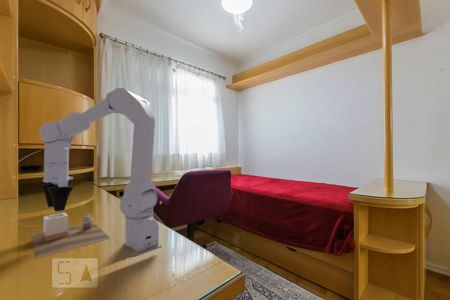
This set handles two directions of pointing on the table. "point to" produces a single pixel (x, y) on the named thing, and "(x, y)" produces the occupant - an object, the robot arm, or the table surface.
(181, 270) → the table surface
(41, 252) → the pin board
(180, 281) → the table surface
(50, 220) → the sleeve
